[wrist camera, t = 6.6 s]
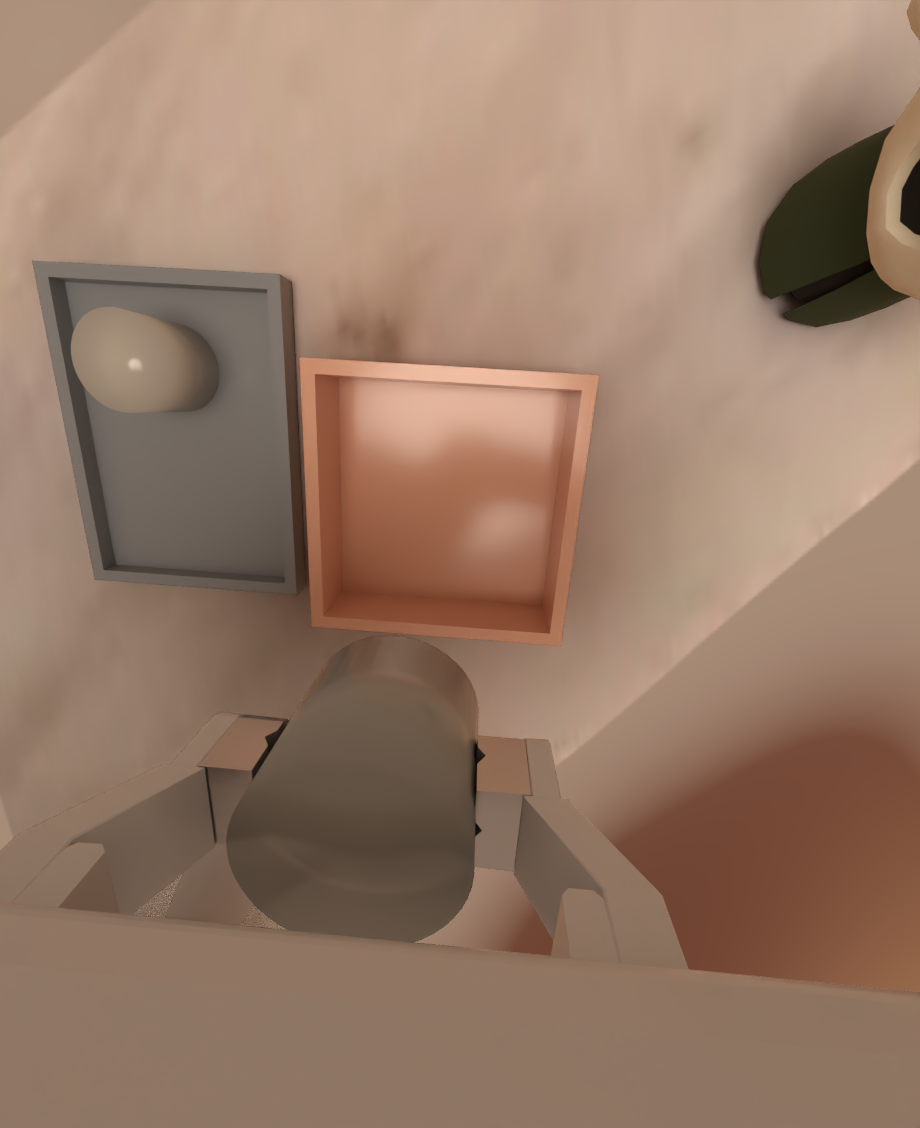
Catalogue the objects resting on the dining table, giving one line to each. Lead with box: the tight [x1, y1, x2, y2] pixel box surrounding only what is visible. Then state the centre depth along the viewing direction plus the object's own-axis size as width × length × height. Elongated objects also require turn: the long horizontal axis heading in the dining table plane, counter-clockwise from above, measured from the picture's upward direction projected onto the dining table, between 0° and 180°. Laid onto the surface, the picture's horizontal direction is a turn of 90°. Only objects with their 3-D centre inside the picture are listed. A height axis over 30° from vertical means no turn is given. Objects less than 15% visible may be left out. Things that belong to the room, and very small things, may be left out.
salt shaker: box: [165, 844, 254, 925], centre depth 25 cm, size 6×6×13 cm
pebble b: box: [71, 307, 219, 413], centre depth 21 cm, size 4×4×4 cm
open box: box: [300, 357, 599, 646], centre depth 23 cm, size 12×12×4 cm
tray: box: [32, 261, 306, 595], centre depth 24 cm, size 15×11×1 cm
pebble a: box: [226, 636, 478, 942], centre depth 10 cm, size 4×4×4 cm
